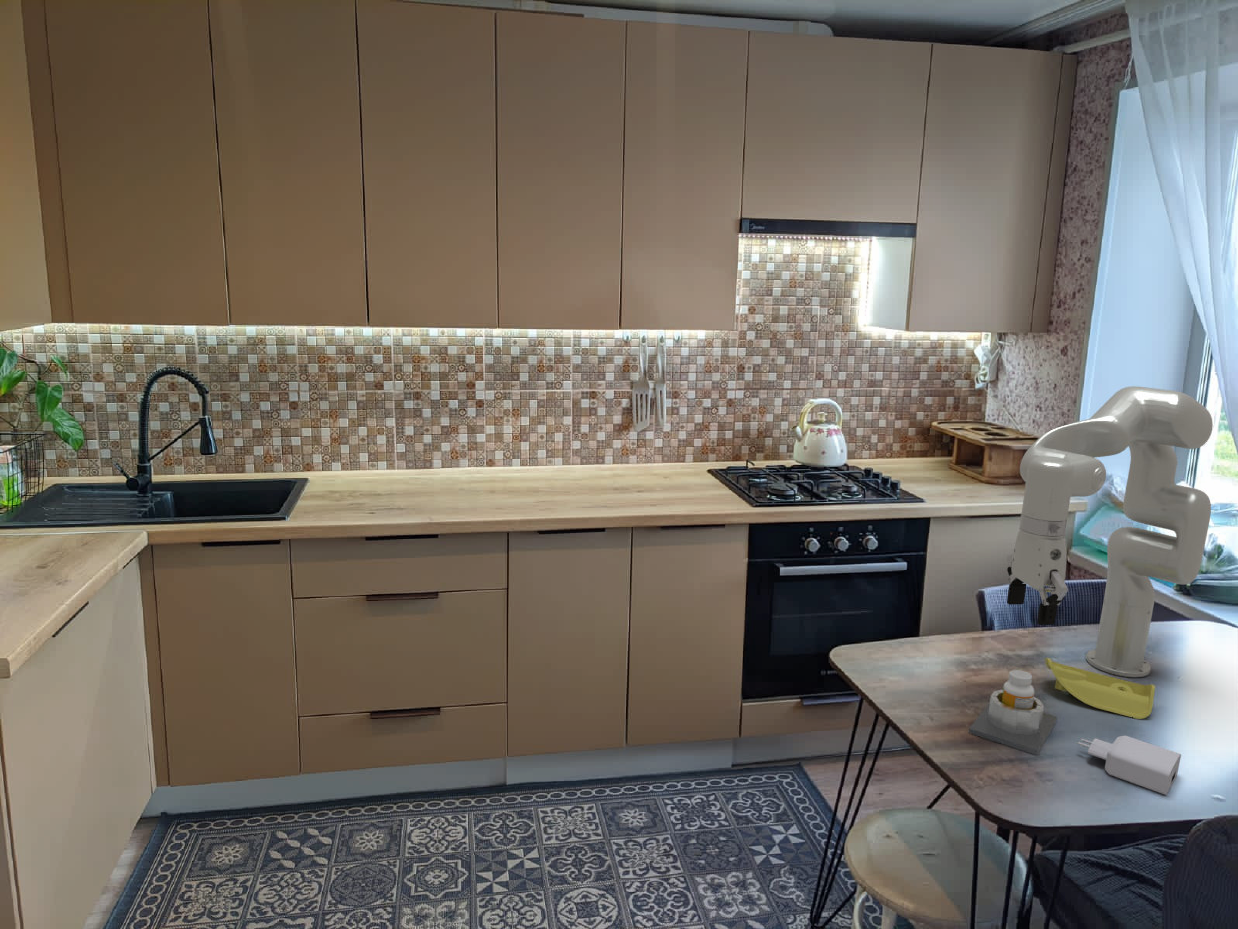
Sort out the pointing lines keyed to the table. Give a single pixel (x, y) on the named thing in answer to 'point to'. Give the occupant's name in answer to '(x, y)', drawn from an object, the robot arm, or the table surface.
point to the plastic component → (1104, 690)
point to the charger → (1137, 762)
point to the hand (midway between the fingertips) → (1029, 614)
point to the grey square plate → (1014, 724)
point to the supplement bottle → (1018, 690)
